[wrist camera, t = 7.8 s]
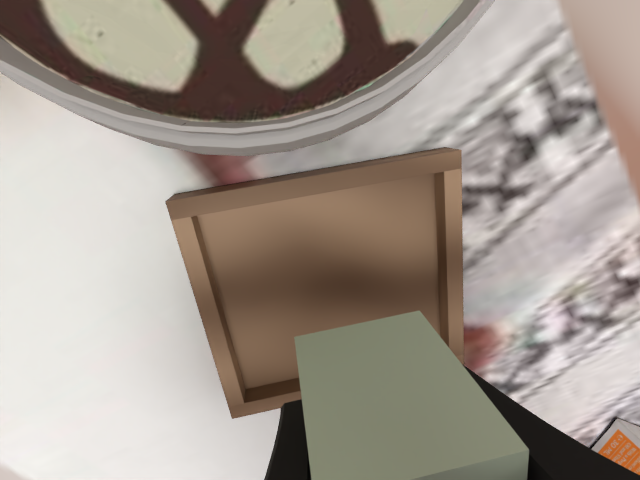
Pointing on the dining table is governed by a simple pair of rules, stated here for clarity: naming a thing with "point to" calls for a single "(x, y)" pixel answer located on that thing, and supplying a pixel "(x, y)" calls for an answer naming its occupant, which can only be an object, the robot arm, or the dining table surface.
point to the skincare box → (621, 445)
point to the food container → (229, 64)
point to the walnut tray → (320, 262)
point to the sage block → (399, 407)
